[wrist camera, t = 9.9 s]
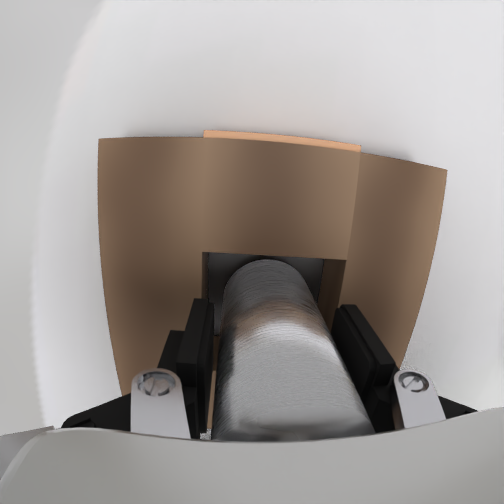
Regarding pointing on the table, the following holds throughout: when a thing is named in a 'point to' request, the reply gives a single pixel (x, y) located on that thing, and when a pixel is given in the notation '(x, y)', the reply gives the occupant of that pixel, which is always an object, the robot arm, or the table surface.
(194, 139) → the hole board
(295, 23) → the table surface
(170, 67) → the table surface
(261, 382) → the peg
